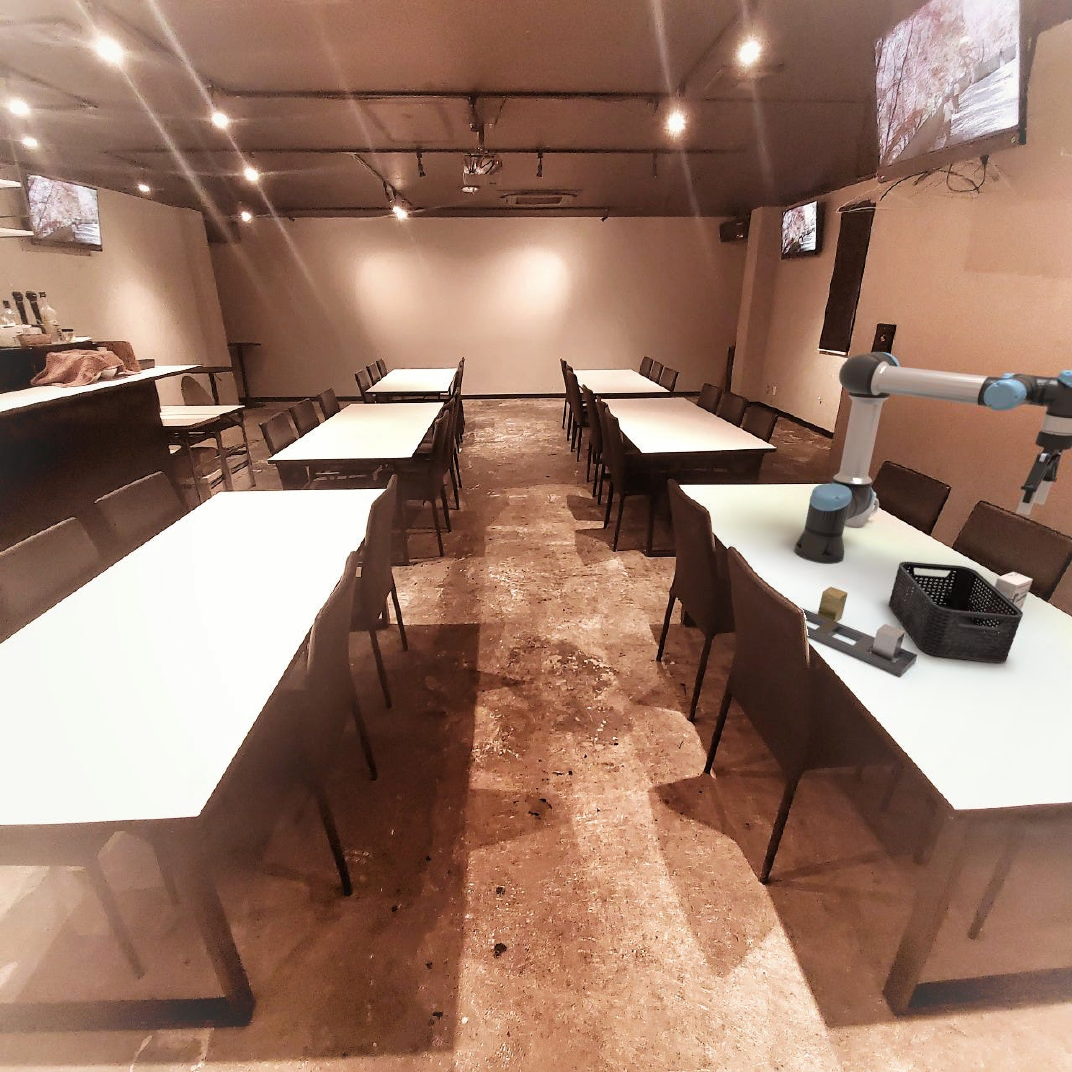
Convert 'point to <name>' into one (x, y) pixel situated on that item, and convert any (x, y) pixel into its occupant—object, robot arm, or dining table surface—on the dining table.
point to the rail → (856, 644)
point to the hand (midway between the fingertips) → (1030, 508)
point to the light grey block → (888, 642)
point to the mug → (863, 515)
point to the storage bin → (954, 613)
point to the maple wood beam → (832, 604)
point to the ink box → (1013, 588)
